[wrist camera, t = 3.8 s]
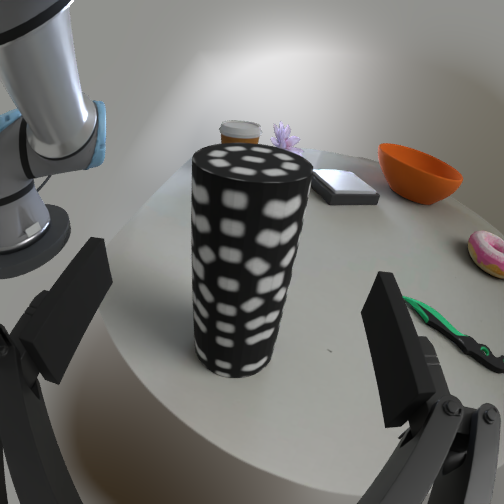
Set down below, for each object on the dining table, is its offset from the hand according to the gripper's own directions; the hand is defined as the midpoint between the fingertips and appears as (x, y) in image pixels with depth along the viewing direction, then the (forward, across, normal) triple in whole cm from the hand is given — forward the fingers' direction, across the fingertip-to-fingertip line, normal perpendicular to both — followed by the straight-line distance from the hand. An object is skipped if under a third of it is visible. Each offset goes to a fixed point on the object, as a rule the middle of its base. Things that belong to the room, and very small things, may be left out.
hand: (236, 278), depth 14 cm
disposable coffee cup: (+58, -5, -18) cm, 61 cm away
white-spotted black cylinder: (+10, 0, -18) cm, 20 cm away
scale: (+56, +19, -17) cm, 62 cm away
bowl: (+65, +43, -18) cm, 79 cm away
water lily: (+72, +7, -18) cm, 74 cm away
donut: (+34, +51, -18) cm, 63 cm away
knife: (+12, +31, -18) cm, 38 cm away
